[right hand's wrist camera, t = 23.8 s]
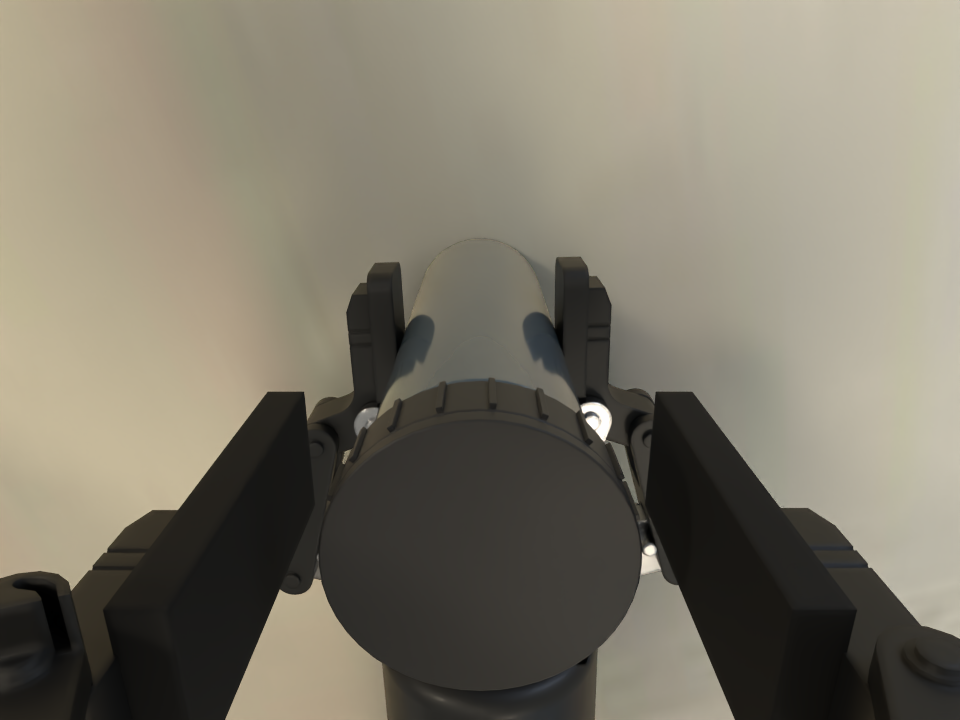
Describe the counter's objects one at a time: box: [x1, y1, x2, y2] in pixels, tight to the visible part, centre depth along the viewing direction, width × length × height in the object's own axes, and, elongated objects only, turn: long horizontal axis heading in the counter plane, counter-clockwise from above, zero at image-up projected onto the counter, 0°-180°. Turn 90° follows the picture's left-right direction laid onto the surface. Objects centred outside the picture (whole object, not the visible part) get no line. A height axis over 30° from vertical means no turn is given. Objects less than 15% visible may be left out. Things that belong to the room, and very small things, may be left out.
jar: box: [374, 239, 583, 421], centre depth 19 cm, size 5×5×16 cm
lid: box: [318, 377, 642, 691], centre depth 11 cm, size 5×5×2 cm
